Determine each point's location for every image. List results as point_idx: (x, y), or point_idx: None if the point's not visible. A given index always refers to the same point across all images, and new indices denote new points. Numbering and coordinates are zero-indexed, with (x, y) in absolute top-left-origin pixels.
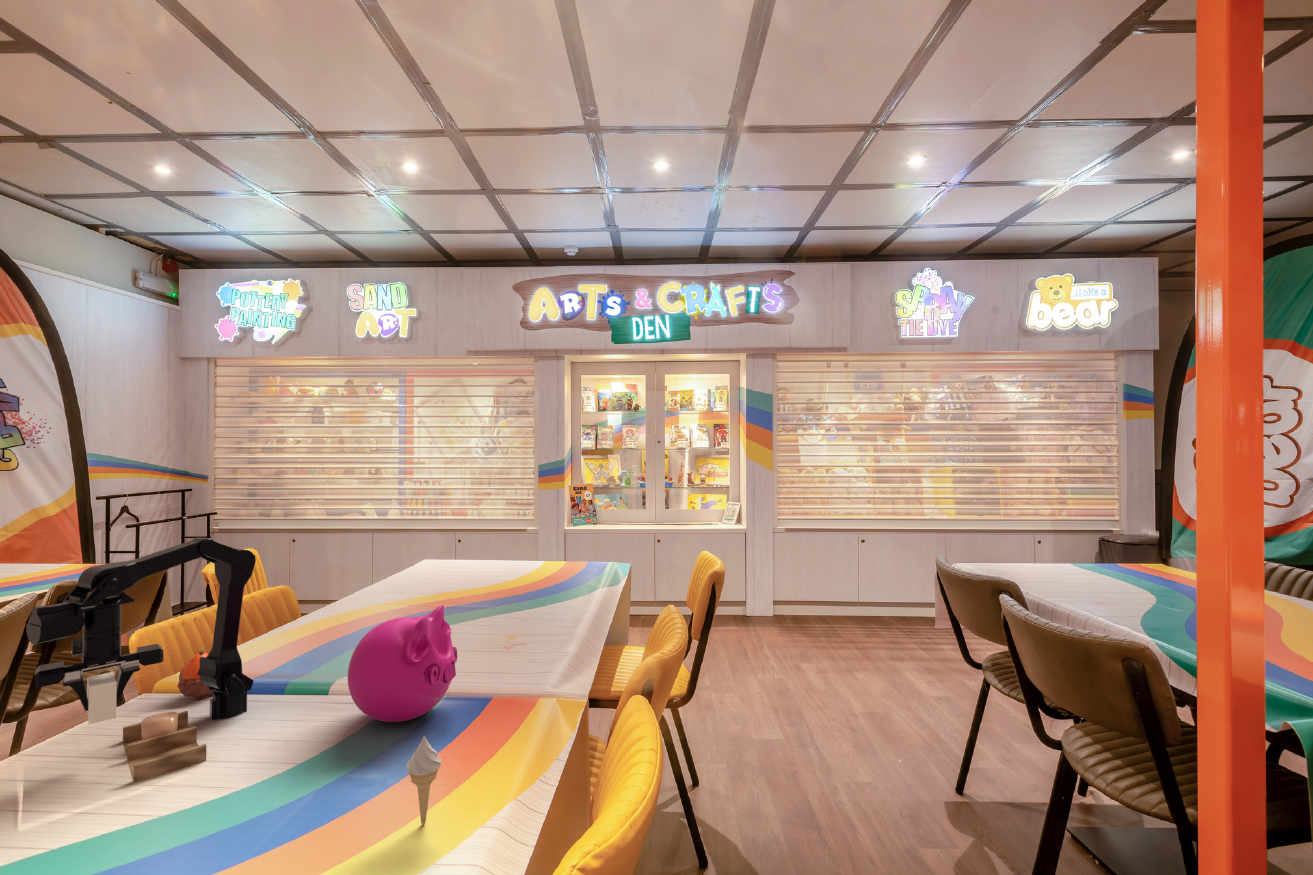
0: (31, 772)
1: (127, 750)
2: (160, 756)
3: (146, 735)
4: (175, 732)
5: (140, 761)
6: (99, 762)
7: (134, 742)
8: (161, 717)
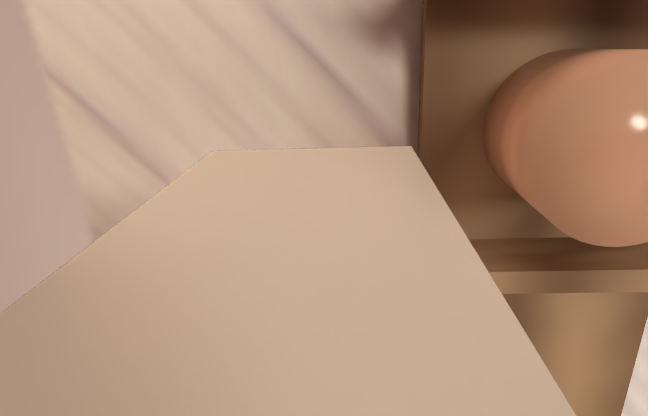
0: (96, 40)
1: (428, 137)
2: (515, 300)
3: (518, 191)
4: (625, 279)
5: None
6: (328, 139)
7: (468, 48)
8: (644, 155)
